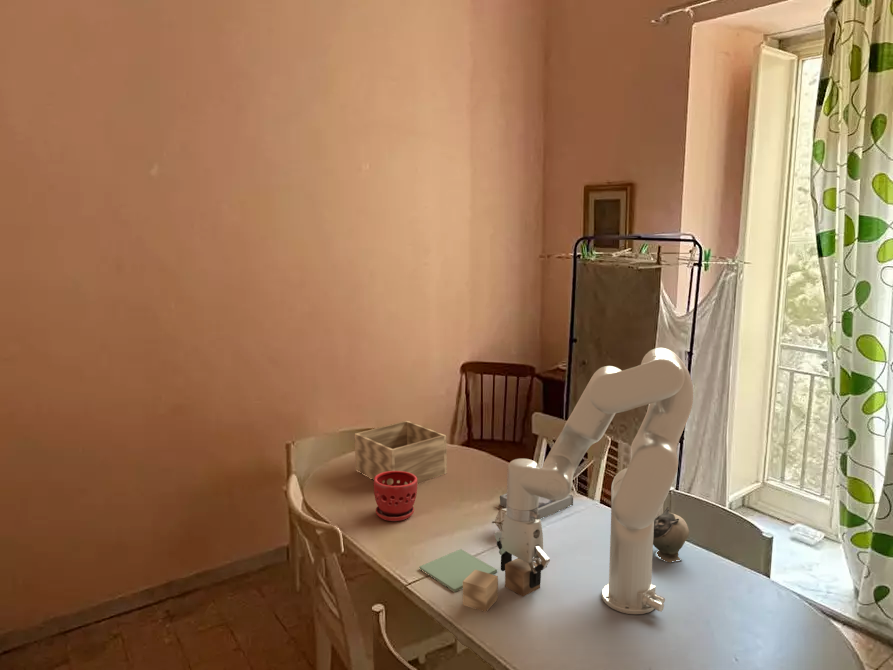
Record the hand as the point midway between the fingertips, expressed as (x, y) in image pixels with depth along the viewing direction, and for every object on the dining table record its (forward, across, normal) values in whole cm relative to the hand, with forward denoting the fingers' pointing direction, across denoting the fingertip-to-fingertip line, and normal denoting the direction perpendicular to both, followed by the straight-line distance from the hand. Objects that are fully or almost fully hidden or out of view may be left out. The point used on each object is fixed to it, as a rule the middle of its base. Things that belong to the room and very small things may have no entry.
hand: (520, 577), depth 162 cm
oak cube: (+3, +2, +12) cm, 12 cm away
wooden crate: (+4, +79, -21) cm, 82 cm away
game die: (+3, +22, -17) cm, 28 cm away
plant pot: (+4, +52, 0) cm, 53 cm away
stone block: (+3, +31, -37) cm, 48 cm away
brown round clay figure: (+2, -14, -40) cm, 43 cm away
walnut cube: (+3, 0, 0) cm, 3 cm away
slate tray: (+2, +30, -37) cm, 48 cm away
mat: (+3, +16, +7) cm, 17 cm away
